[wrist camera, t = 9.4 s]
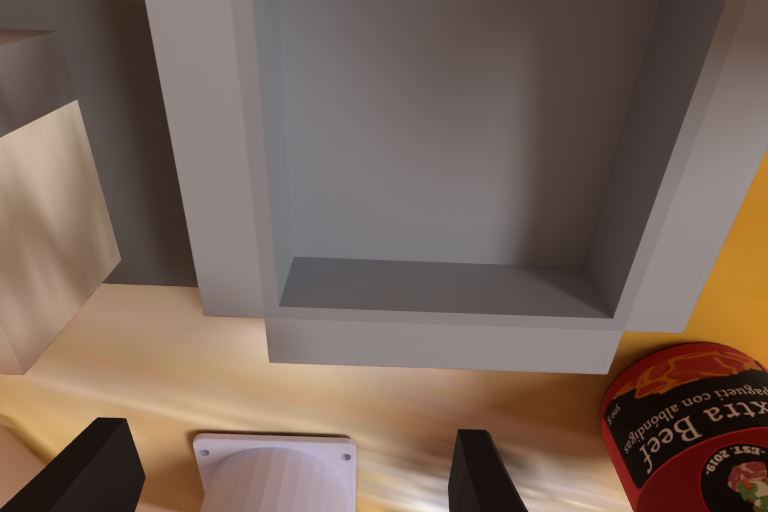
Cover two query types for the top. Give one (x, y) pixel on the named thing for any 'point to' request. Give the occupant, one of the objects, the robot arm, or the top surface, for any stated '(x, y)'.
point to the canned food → (690, 430)
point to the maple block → (45, 200)
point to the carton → (460, 170)
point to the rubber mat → (122, 129)
